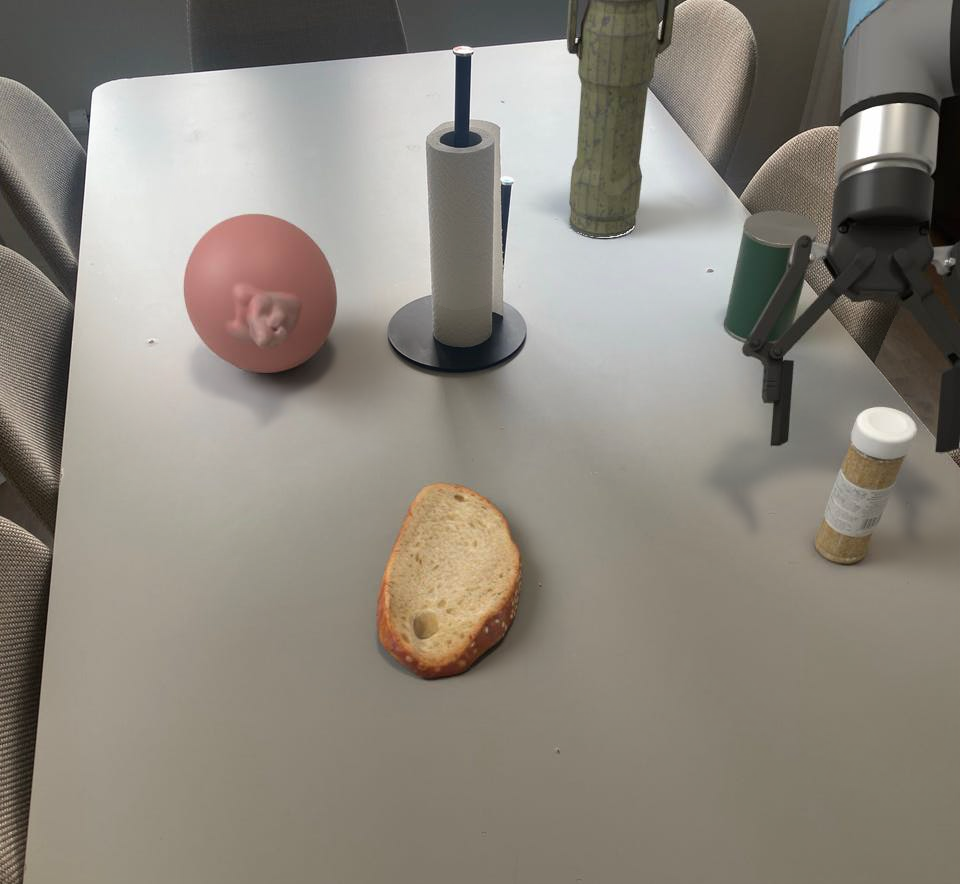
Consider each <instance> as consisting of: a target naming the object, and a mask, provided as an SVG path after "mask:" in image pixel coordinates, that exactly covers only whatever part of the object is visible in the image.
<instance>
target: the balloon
mask: <svg viewBox="0 0 960 884" xmlns="http://www.w3.org/2000/svg"><path fill="white" fill-rule="evenodd" d="M337 291H338V290H337V285H336V279H335V276H334V273H333V270H332V267H331V265H330V263H329V260H328V259H327V257H326V255H325V253H324V252H323V250H322V249H321V248H320V246H319V245H318V244H317V242H316V241H315V240H314V239H313V238H312V237H311V236H310V235H308V233H306V232H305V231H304V230H302V229H301V228H300V227H298V226H297V225H295V224H294V223H291V222H290V221H288V220H285V219H283V218H281V217H277V216H274V215H269V214H265V213H246V214H245V213H244V214H239V215H235V216H232V217H229V218H226V219H224V220H223V221H221V222H219V223H217V224H215V225H214V226H212V227H211V228H210V229H209V230H208V231H206V232H205V233H204V234H203V235H202V237H200V239H199V240H198V241H197V242H196V244H195V245H194V247H193V248H192V251H191V253H190V255H189V257H188V260H187V263H186V267H185V271H184V276H183V298H184V299H183V300H184V305H185V308H186V313H187V315H188V318H189V320H190V323H191V325H192V327H193V328H194V331H195V332H196V333H197V335H198V336H199V338H200V339H201V341H202V342H203V343H204V344H205V346H206V347H207V348H208V349H209V350H210V351H211V352H213V353H214V354H215V356H217V357H219V358H220V359H221V360H223V361H225V362H226V363H228V364H230V365H232V366H234V367H236V368H238V369H241V370H245V371H247V372H248V371H249V372H252V373H258V374H259V373H261V374H272V373H280V372H284V371H288V370H291V369H293V368H296V367H298V366H300V365H302V364H303V363H305V362H307V361H308V360H309V359H310V358H311V357H313V356H314V355H315V354H316V353H317V352H318V351H319V350H320V349H321V348H322V346H323V344H325V342H326V340H328V337H329V335H330V333H331V331H332V329H333V326H334V323H335V319H336V314H337V307H338V293H337Z"/></svg>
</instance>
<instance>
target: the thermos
mask: <svg viewBox="0 0 960 884" xmlns="http://www.w3.org/2000/svg"><path fill="white" fill-rule="evenodd" d="M663 4H664V5H663V12H662V20H661V28H660V17H659V12H658V6H657V0H587V4H586V7H585V10H584V13H583V17H582V19H581V23H580V36H578V37H577V26H578V25H577V23H578V11H579V9H578V8H579V7H578V6H579V0H568V1H567V18H566V19H567V20H566V21H567V22H566V47H567V52H568V53H569V54H570V55H571V54H572V55H576V57H577V58H578V67H577V74H578V77H579V80H580V84H581V85H580V97H579V116H578V129H577V148H576V157H575V160H574V162H573V165H572V168H571V174H570V175H571V176H570V186H569V203H568V204H569V207H570V215H569V223H570V224H569V223H568V224H569V226H570V225H571V226H570V228H571V227H572V228H573V229H574V230H575V231H576V232H575V231H574V230H573V229H572V228H571V229H572V230H573V231H574V232H575V233H577V232H579V233H582V234H584V235H587V236H593V237H610V236H617V235H620V234H624V233H626V232H627V231H629V230H630V229H632V228H633V226H634V225H635V226H636V223H637V222H636V221H637V217H636V216H637V211H638V209H639V206H640V197H641V189H642V181H643V173H642V170H641V164H640V162H641V161H640V159H641V150H642V142H643V134H644V124H645V117H646V116H645V115H646V108H647V98H648V89H649V86H650V85H651V82H652V80H653V78H654V72H655V67H656V66H655V64H656V59H658V56H659V55H661V54H662V53H664V51H666V50H667V49H668V48H669V47H670V46H671V45H672V39H673V38H672V36H673V29H674V28H673V27H674V20H675V12H676V4H677V0H664V3H663ZM659 29H660V38H659ZM576 39H577V40H576ZM579 233H578V234H579Z"/></svg>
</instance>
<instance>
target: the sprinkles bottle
mask: <svg viewBox="0 0 960 884" xmlns="http://www.w3.org/2000/svg"><path fill="white" fill-rule="evenodd" d="M917 432H918V428H917V424H916V422H915V420H914V419H912V417H911V416H909V415H908V414H907V413H905V412H903V411H901V410H898V409H895V408H891V407H887V406H886V407H885V406H875V407H871V408H867V409H864V410H862V411H861V412H860V413H859V414H858V415H857V417H856V419H855V422H854V424H853V427H852V430H851V433H850V443H849V445H848V449H847V451H846V454H845V457H844V459H843V461H842V464H841V468H840V469H839V472H838V474H837V477H836V480H835V483H834V485H833V488H832V489H831V493H830V496H829V498H828V501H827V504H826V507H825V511H824V515H823V519H822V521H821V524H820V527H819V530H818V531H817V533H816V535H815V537H814V545H815V549H816V550H817V551H818V552H819V554H820V555H821V556H822V557H823V558H825V559H827V560H829V561H831V562H834V563H837V564H846V565H847V564H848V565H849V564H854V563H857V562H859V561H862V559H864V557H866V555H867V552H868V547H869V544H870V541H871V539H872V537H873V535H874V532H875V530H876V529H877V527H878V525H879V523H880V520H881V518H882V515H883V513H884V510H885V508H886V506H887V503H888V501H889V500H890V496H891V494H892V491H893V489H894V486H895V484H896V481H897V477H898V474H899V472H900V469H901V467H902V464H903V462H904V459H905V458H906V456H907V455H908V453H909V452H910V451H911V448H912V446H913V444H914V441H915V438H916V435H917Z"/></svg>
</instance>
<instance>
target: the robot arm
mask: <svg viewBox="0 0 960 884" xmlns="http://www.w3.org/2000/svg"><path fill="white" fill-rule="evenodd" d="M841 52H842V74H841V75H842V77H841V92H840V93H841V94H840V109H839V110H840V112H839V113H840V114H839V123H838V135H837V145H836V146H837V148H836V159H835V169H834V170H835V172H834V182H836V184H837V186H836V187H835V188H834V189H833V194H832V206H831V207H832V208H831V219H830V221H831V222H830V235H829V236H830V237H829V240H828V243H823V242H818V241H815V242H812V239H811V238H810V237H809V236H807V235H803V236H801V237H800V238H799V239H798V240H797V241H796V242H795V244H794V245H793V246H792V247H791V249H790V251H789V256H788V261H787V266H786V272H785V274H784V276H783V277H782V279H781V281H780V283H779V284H778V286H777V288H776V289H775V291H774V293H773V295H772V296H771V298H770V300H769V302H768V303H767V305H766V307H765V309H764V310H763V312H762V314H761V316H760V317H759V319H758V321H757V323H756V324H755V326H754V328H753V330H752V331H751V333H750V335H749V337H748V338H747V340H746V342H744V343H743V346H742V348H741V350H742V351H741V352H742V354H743V355H744V356H745V357H747V358H753V359H757V360H759V361H760V364H761V365H762V366H763V372H762V373H763V375H762V386H761V387H762V389H761V399H762V402H763V404H772V418H771V432H770V433H771V435H770V447H780V446H782V445H785V444H786V443H788V442H789V435H790V421H791V406H792V393H793V392H792V391H793V381H794V380H793V379H794V378H793V377H794V365H795V364H794V363H795V360H794V359H793V360H792V359H784V356H785V355H787V353H788V352H789V351H790V350H791V349H792V348H793V347H794V346H795V345H797V343H798V342H799V341H800V339H802V337H803V336H804V335H805V334H807V332H808V331H809V330H810V329H811V328H812V327H813V326H814V325H815V324H816V323H817V322H818V320H819V319H820V318H821V317H822V316H823V315H824V314H825V313H826V312H827V311H828V310H829V309H830V308H831V307H832V306H833V305H834V304H835V302H837V300H839V298H841V296H842V295H843V296H844V297H845V298H847V299H848V300H850V302H851V303H863V302H868V301H872V302H876V303H879V304H890V303H891V302H893V301H895V300H897V301H898V302H899V304H900V305H901V307H902V308H903V309H905V310H906V311H909V312H910V313H911V315H912V316H913V318H914V319H915V320H916V321H917V323H918V324H919V326H920V327H921V329H922V330H923V331H924V332H925V334H926V335H927V336H928V338H929V339H930V340H931V341H932V343H933V344H934V347H935V348H937V350H938V351H939V353H940V354H941V355H942V356H943V358H944V359H945V361H946V362H947V363H948V365H949V366H950V367H951V368H950V369H948V370H945V371H943V372H942V373H941V379H940V392H939V402H938V403H939V404H938V414H937V415H938V416H937V425H936V426H937V427H936V439H935V450H934V452H935V453H940V454H941V453H943V454H945V453H948V452H953V451H955V450H959V449H960V326H959V324H958V323H957V322H956V320H955V319H954V317H952V315H951V314H950V313H949V311H948V310H947V309H946V307H945V306H944V305H943V303H942V302H941V301H940V299H939V298H938V296H937V295H936V293H935V288H934V286H933V284H932V283H931V281H930V280H929V279H928V278H927V276H926V275H925V273H924V272H925V270H927V268H928V267H929V265H930V264H931V265H933V266H934V267H935V269H936V273H937V275H939V276H942V280H943V285H944V287H945V290H946V293H947V295H948V299H949V300H950V303H951V305H952V308H953V310H954V312H955V315H956V317H957V320H958V322H959V323H960V240H959V241H957V242H956V243H955V244H953V245H942V246H933V244H932V241H931V238H930V231H931V224H932V216H933V215H932V213H933V203H934V202H933V201H934V190H935V180H934V179H933V177H932V175H933V174H934V173H935V171H936V169H937V154H938V138H939V127H940V126H939V123H940V114H941V103H942V101H943V100H942V99H946V98H950V97H955V96H956V97H957V96H960V0H850V1H849V8H848V15H847V23H846V31H845V37H844V39H843V44H842V50H841ZM818 261H822V262H823V265H824V267H825V268H826V269H827V272H828V273H829V274H830V276H831V277H832V281H831V283H829V285H828V286H827V287H825V289H824V290H823V291H822V292H821V293H820V294H819V296H817V297H816V299H815V300H814V301H813V302H812V303H811V304H810V305H809V306H808V307H807V308H806V309H805V311H804V312H802V313H801V315H799V317H798V318H797V319H796V320H794V321H793V324H792V325H791V326H790V328H789V329H788V330H787V331H786V332H785V333H784V334H783V335H782V336H781V337H780V338H779V339H778V340H777V341H776V342H775V343H774V344H773V343H770V342H768V341H766V339H767V338H768V336H769V334H770V332H771V331H772V329H773V327H774V325H775V324H776V322H777V320H778V318H779V317H780V315H781V313H782V312H783V310H784V308H785V306H786V305H787V303H788V301H789V299H790V298H791V296H792V294H793V292H794V291H795V289H796V287H797V285H798V284H799V282H800V280H801V279H802V277H803V275H804V273H805V271H807V272H809V271H811V270H812V269H813V268H814V267H815V266H816V264H817V263H818Z"/></svg>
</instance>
